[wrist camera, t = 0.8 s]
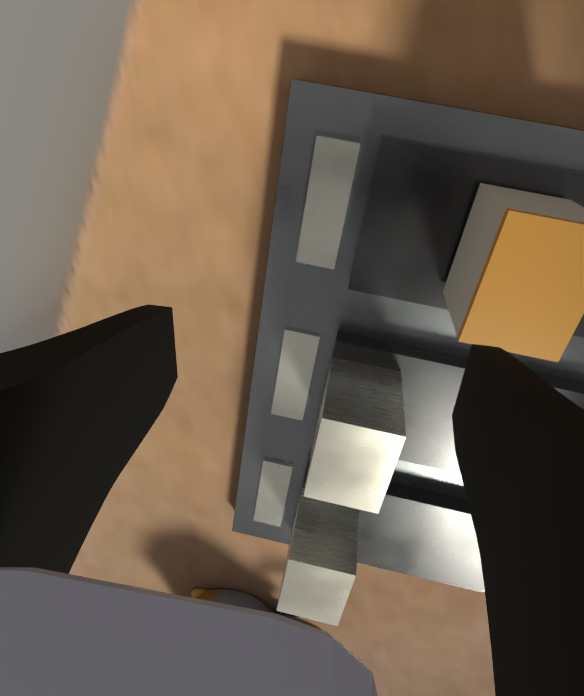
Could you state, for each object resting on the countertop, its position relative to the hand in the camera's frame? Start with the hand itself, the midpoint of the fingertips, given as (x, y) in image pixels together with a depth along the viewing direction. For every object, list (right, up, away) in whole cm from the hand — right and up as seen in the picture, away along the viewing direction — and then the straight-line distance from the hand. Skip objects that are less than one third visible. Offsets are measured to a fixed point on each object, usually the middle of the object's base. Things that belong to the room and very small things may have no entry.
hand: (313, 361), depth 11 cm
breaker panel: (+7, -2, +11) cm, 13 cm away
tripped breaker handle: (+7, +4, +5) cm, 10 cm away
